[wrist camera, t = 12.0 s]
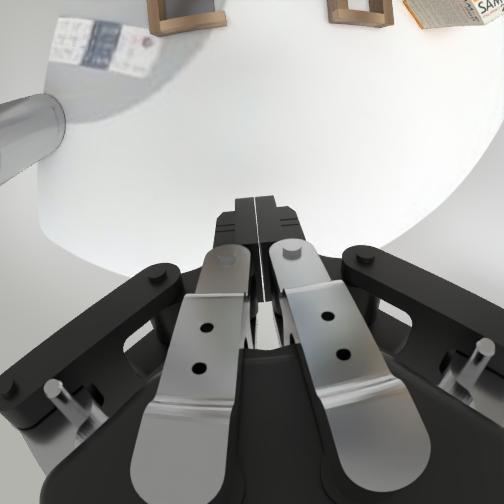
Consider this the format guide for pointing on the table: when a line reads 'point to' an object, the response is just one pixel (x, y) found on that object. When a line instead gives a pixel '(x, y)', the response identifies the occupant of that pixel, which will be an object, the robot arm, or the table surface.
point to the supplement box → (454, 12)
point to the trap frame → (204, 16)
